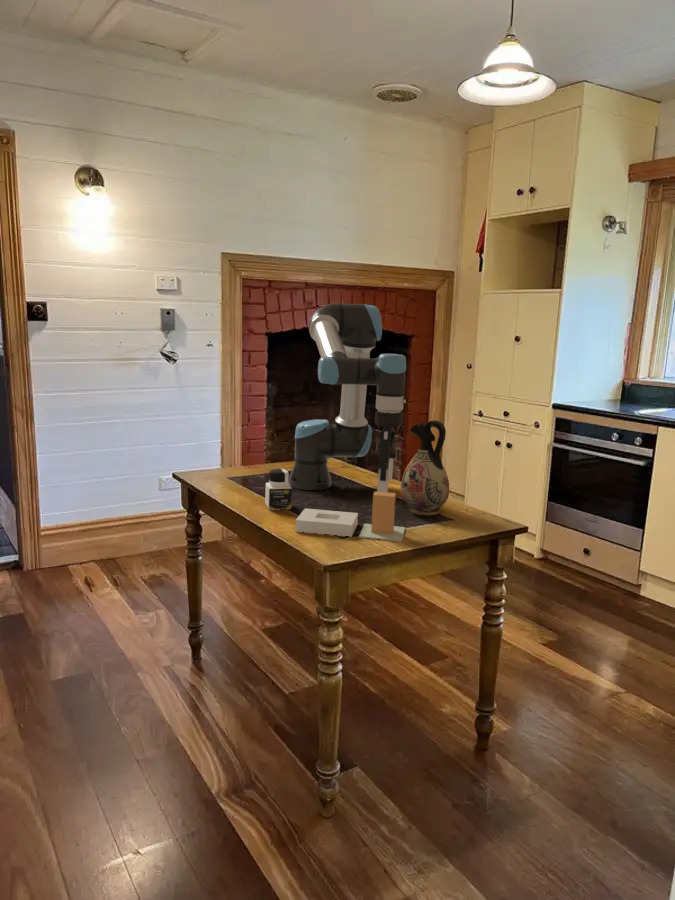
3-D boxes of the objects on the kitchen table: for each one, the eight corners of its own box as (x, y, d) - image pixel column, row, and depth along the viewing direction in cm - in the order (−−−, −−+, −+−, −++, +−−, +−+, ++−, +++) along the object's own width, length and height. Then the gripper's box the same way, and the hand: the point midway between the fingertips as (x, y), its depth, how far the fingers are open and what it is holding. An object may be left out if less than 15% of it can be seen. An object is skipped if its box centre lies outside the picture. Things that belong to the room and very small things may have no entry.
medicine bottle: (268, 510, 212) (269, 472, 210) (265, 504, 219) (265, 467, 217) (291, 509, 214) (292, 472, 212) (286, 503, 221) (287, 467, 219)
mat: (364, 525, 201) (364, 523, 201) (405, 528, 200) (405, 527, 199) (358, 537, 190) (358, 536, 190) (401, 541, 188) (402, 540, 188)
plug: (372, 528, 197) (374, 491, 195) (393, 530, 196) (395, 493, 194) (371, 532, 193) (373, 494, 191) (392, 534, 192) (394, 496, 190)
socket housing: (304, 519, 204) (304, 508, 204) (357, 524, 202) (358, 513, 201) (295, 531, 193) (295, 519, 192) (351, 537, 190) (352, 525, 189)
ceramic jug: (389, 511, 217) (394, 417, 211) (416, 502, 228) (422, 413, 222) (434, 523, 206) (441, 425, 200) (461, 513, 218) (468, 420, 212)
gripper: (399, 418, 175) (394, 498, 179) (406, 405, 199) (401, 476, 204) (370, 416, 176) (366, 495, 181) (380, 404, 200) (376, 474, 205)
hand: (385, 485), depth 192 cm, fingers open, 13 cm apart
